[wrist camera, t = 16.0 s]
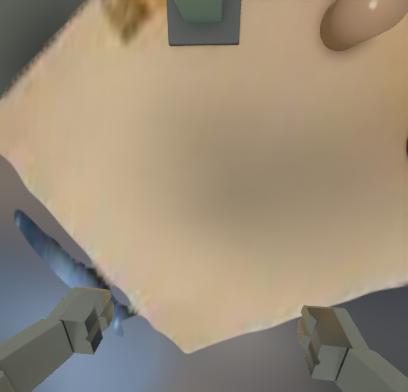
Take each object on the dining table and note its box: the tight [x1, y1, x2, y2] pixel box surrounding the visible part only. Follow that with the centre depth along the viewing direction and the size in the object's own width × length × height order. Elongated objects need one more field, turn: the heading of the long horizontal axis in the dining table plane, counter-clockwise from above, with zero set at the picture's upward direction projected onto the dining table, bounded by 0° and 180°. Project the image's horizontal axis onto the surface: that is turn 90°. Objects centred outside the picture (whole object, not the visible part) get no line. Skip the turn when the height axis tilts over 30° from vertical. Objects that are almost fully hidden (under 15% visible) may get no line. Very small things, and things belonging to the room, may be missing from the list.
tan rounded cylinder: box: [320, 0, 408, 51], centre depth 26 cm, size 6×6×8 cm
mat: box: [167, 0, 241, 46], centre depth 30 cm, size 10×10×1 cm
